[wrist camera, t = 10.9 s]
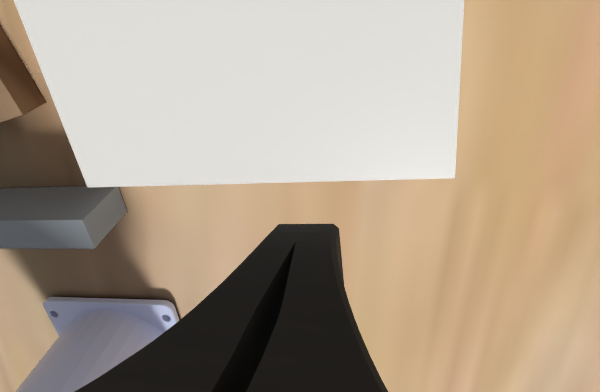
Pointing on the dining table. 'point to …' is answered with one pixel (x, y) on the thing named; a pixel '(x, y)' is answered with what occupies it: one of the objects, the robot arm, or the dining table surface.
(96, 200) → the box
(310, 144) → the board
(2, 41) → the tile
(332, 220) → the dining table surface
